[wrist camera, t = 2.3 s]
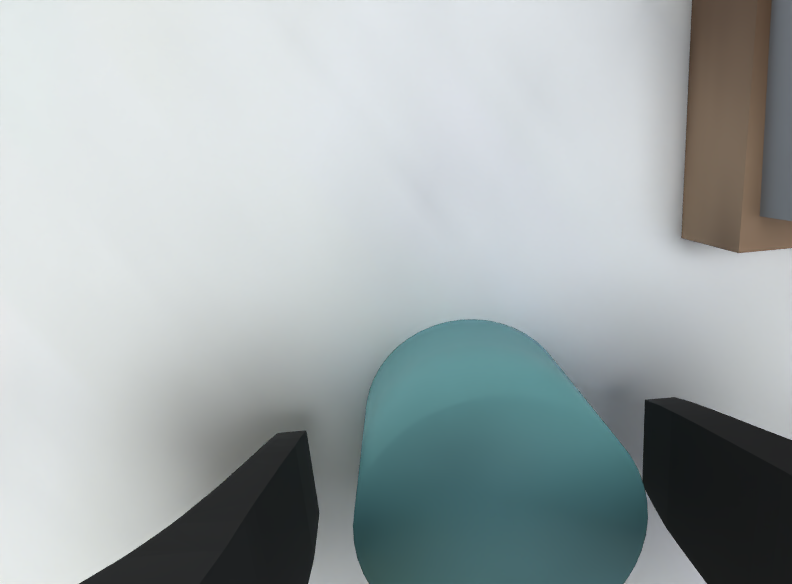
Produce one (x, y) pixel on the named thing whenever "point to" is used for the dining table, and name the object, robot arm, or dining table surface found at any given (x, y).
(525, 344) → the teal cylinder
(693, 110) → the walnut slab
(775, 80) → the grey flat square block
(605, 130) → the dining table surface
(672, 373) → the dining table surface
